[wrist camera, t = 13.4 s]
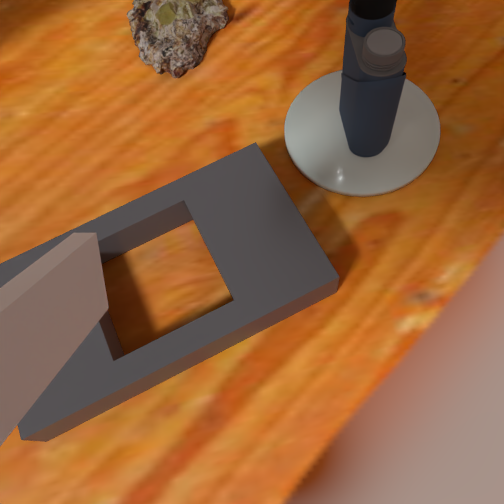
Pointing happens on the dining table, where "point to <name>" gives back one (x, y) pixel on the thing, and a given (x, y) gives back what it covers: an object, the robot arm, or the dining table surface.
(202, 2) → the mineral rock
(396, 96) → the vaping device
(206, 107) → the dining table surface
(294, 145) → the coaster
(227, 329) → the block
